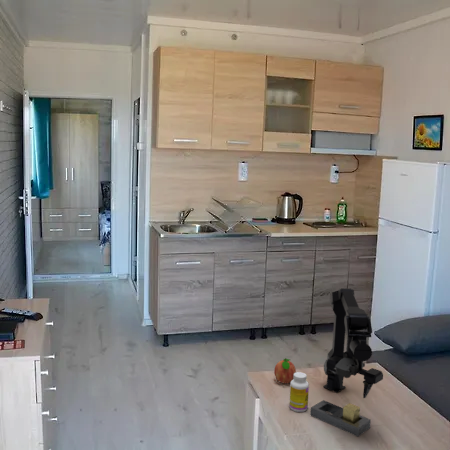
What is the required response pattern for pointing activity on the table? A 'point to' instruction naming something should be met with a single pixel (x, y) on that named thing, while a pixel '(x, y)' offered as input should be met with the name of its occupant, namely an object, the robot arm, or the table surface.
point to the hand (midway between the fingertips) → (352, 393)
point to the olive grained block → (351, 413)
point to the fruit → (284, 371)
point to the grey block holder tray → (339, 418)
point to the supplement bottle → (299, 392)
